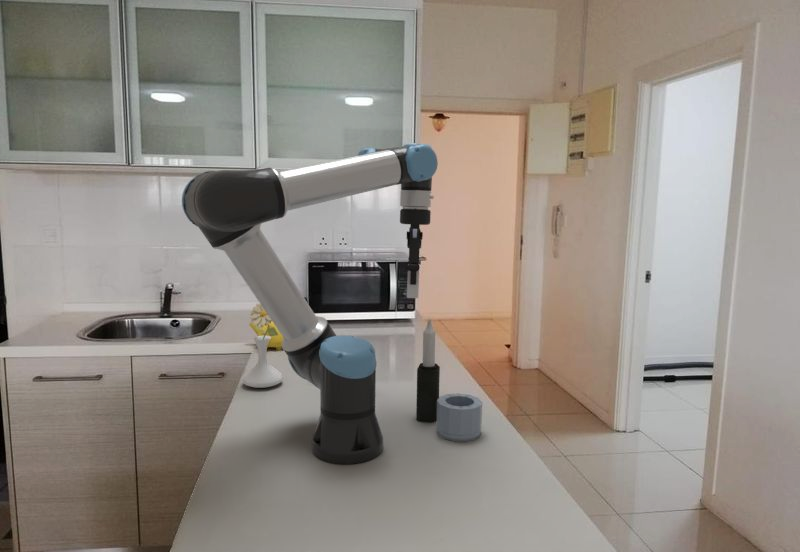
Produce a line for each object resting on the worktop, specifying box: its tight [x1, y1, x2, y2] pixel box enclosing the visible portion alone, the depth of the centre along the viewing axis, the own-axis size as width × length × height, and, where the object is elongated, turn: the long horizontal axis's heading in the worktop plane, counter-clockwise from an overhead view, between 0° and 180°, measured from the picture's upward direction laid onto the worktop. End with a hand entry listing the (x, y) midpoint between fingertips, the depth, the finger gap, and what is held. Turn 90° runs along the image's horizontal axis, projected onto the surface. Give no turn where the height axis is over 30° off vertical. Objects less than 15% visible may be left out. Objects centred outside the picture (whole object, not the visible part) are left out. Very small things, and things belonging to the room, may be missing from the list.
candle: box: [415, 317, 441, 423], centre depth 136 cm, size 5×5×25 cm
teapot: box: [248, 321, 284, 351], centre depth 201 cm, size 20×18×11 cm
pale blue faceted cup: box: [436, 392, 483, 443], centre depth 129 cm, size 10×10×8 cm
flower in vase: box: [242, 302, 284, 389], centre depth 159 cm, size 13×11×25 cm
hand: (412, 293), depth 141 cm, fingers open, 13 cm apart
